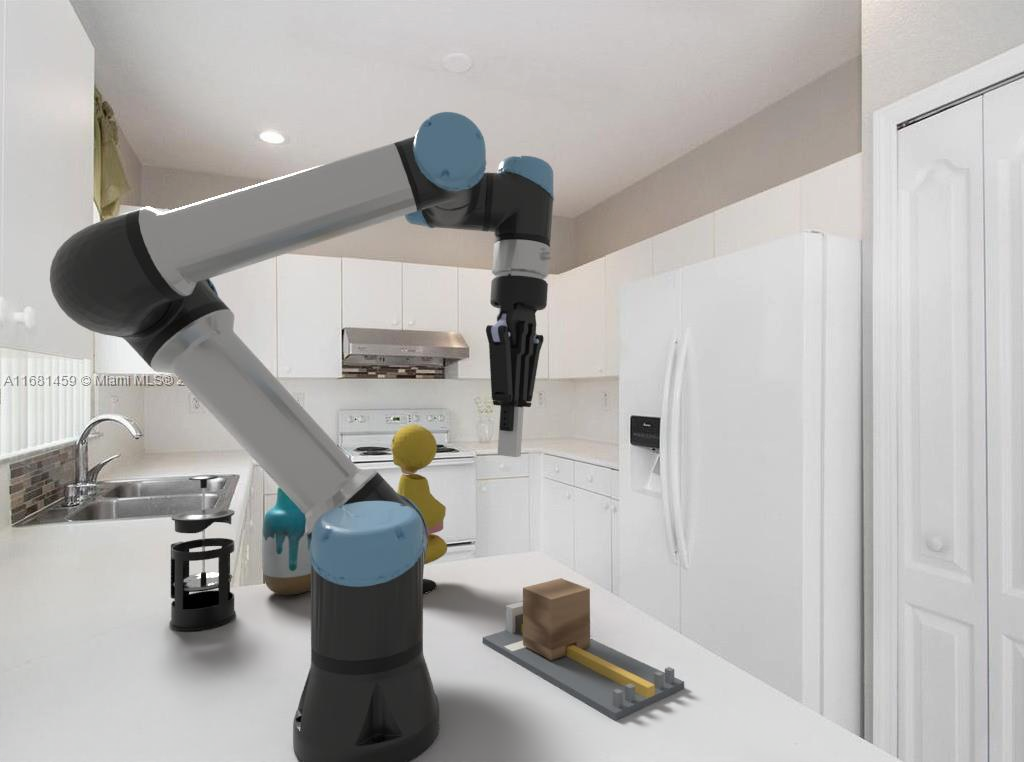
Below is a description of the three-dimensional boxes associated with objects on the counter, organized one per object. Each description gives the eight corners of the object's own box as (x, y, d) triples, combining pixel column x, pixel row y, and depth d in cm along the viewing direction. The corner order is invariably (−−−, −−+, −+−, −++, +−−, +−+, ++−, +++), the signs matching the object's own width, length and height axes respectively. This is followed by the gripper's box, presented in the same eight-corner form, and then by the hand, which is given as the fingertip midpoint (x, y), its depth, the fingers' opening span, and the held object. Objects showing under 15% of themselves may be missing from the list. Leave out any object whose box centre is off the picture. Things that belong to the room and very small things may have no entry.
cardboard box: (590, 646, 84) (589, 588, 84) (551, 660, 80) (550, 599, 80) (561, 632, 89) (560, 578, 89) (523, 645, 84) (522, 587, 85)
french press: (252, 615, 99) (252, 473, 100) (202, 636, 91) (202, 481, 91) (199, 605, 104) (200, 469, 104) (147, 625, 95) (148, 477, 96)
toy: (389, 572, 122) (389, 422, 122) (451, 572, 122) (450, 421, 123) (372, 599, 106) (372, 427, 107) (443, 598, 107) (442, 426, 107)
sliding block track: (684, 688, 74) (684, 651, 74) (615, 720, 67) (615, 680, 67) (546, 623, 95) (546, 595, 95) (482, 642, 88) (482, 612, 88)
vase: (304, 604, 104) (304, 491, 104) (248, 600, 106) (248, 489, 107) (334, 584, 114) (334, 482, 115) (283, 581, 117) (283, 481, 117)
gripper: (524, 267, 74) (512, 462, 74) (564, 286, 86) (553, 455, 85) (470, 269, 77) (459, 456, 77) (516, 287, 89) (506, 449, 89)
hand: (509, 455), depth 81 cm, fingers closed
